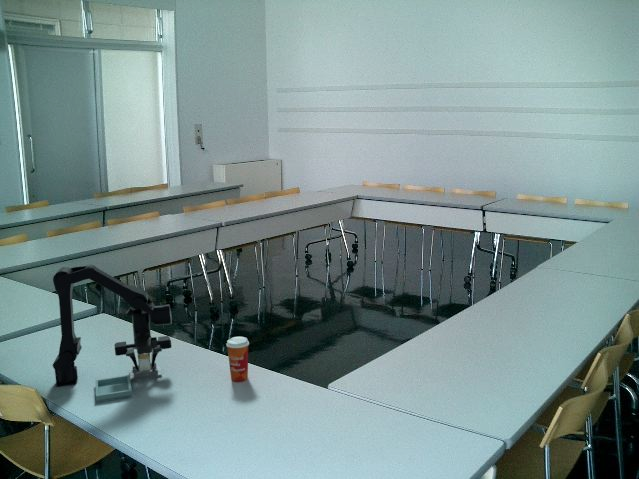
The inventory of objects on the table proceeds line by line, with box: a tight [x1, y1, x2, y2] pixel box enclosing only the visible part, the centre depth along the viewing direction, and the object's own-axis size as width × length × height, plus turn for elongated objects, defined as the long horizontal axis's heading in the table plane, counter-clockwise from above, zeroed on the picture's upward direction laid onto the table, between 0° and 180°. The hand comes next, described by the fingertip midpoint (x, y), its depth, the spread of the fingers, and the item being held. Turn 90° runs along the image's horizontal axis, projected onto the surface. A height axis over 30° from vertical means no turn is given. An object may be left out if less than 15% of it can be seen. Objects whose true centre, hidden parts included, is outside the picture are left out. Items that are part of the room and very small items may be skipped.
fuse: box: [137, 353, 151, 372], centre depth 225 cm, size 4×4×8 cm
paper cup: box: [225, 336, 250, 383], centre depth 220 cm, size 8×8×14 cm
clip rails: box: [128, 361, 163, 382], centre depth 226 cm, size 10×8×2 cm
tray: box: [94, 374, 133, 403], centre depth 213 cm, size 11×13×2 cm
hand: (144, 368), depth 226 cm, fingers open, 5 cm apart
